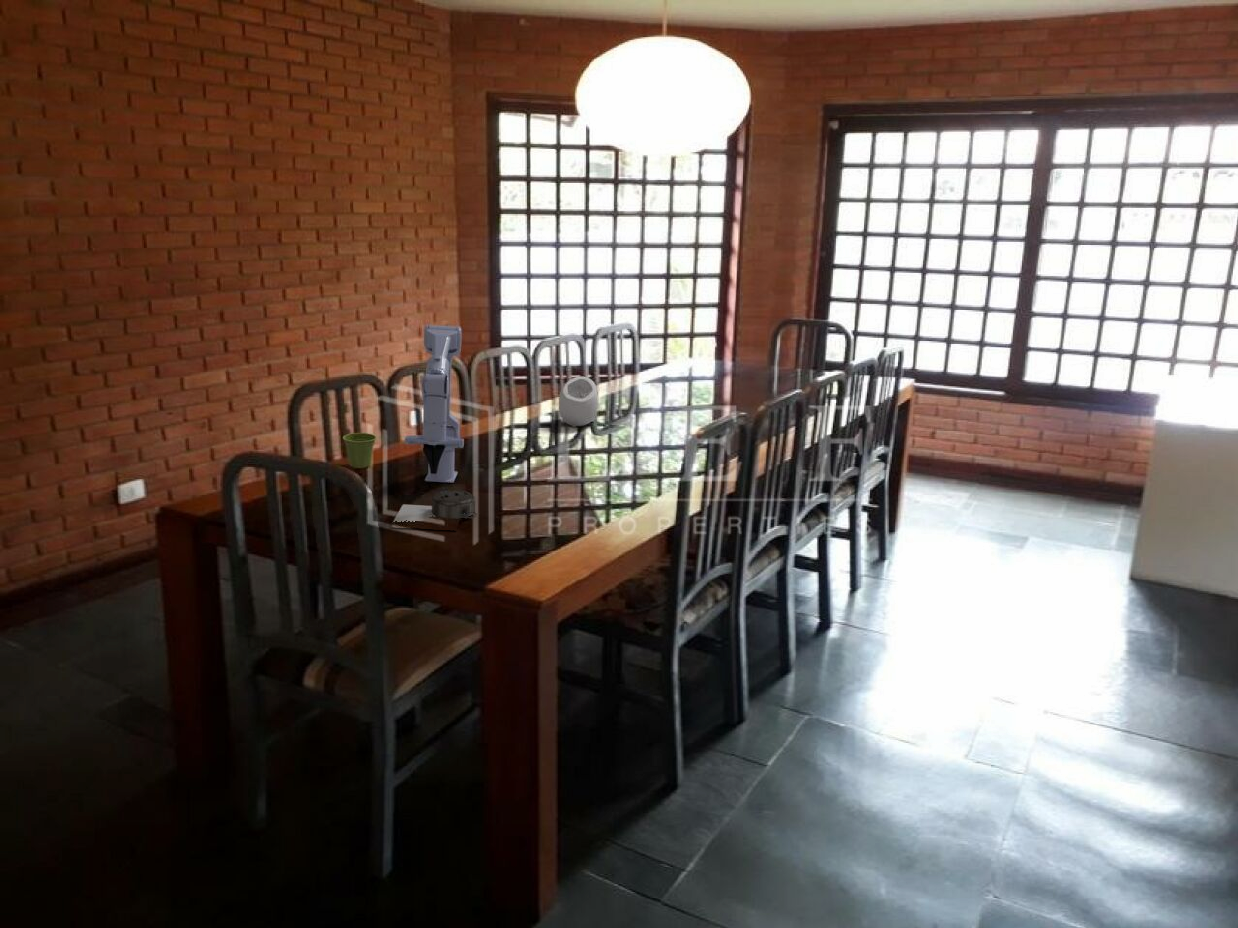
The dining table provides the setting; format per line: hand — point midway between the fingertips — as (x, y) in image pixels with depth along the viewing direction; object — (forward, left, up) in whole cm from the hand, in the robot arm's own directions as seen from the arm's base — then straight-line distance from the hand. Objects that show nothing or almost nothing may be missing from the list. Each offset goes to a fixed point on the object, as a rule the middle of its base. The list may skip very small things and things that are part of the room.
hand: (434, 472), depth 243 cm
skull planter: (-99, +36, -10) cm, 106 cm away
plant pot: (-34, -27, -10) cm, 44 cm away
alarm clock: (-2, +1, -7) cm, 7 cm away
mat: (+7, 0, -10) cm, 12 cm away
